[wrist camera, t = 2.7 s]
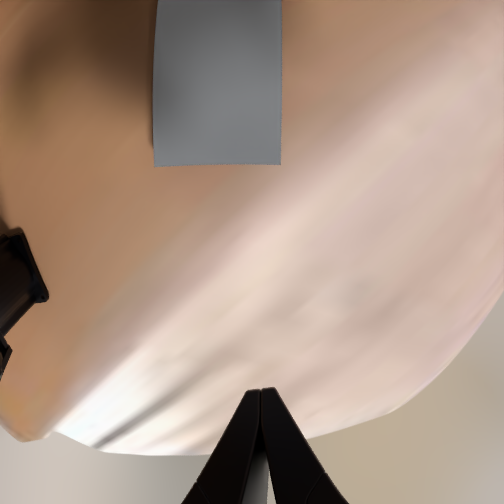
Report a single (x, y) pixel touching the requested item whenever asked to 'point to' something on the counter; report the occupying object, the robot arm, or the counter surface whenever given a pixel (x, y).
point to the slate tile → (217, 82)
